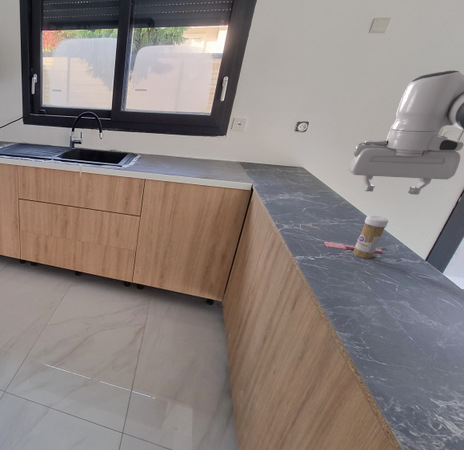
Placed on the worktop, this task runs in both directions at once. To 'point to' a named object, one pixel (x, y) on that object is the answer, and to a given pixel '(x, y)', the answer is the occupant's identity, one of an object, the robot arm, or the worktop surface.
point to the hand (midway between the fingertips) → (390, 192)
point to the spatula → (345, 246)
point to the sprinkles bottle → (370, 236)
